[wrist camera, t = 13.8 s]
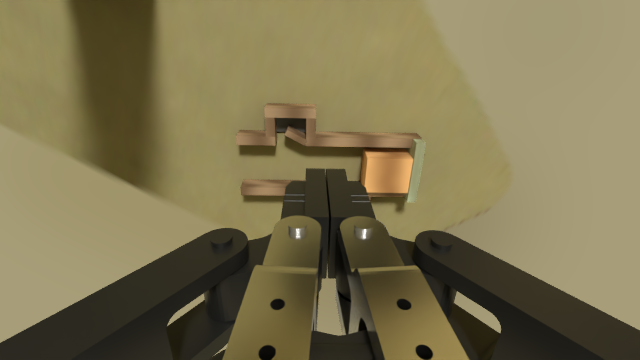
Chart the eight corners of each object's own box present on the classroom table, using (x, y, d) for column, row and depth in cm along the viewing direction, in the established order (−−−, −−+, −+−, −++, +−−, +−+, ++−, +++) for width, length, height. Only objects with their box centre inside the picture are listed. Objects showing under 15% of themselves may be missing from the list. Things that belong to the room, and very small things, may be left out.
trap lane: (246, 208, 50) (241, 223, 46) (237, 102, 43) (230, 110, 40) (404, 210, 51) (411, 224, 47) (421, 106, 44) (431, 114, 40)
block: (360, 179, 49) (364, 192, 45) (363, 147, 46) (367, 158, 43) (400, 180, 49) (407, 193, 45) (405, 148, 47) (413, 159, 43)
